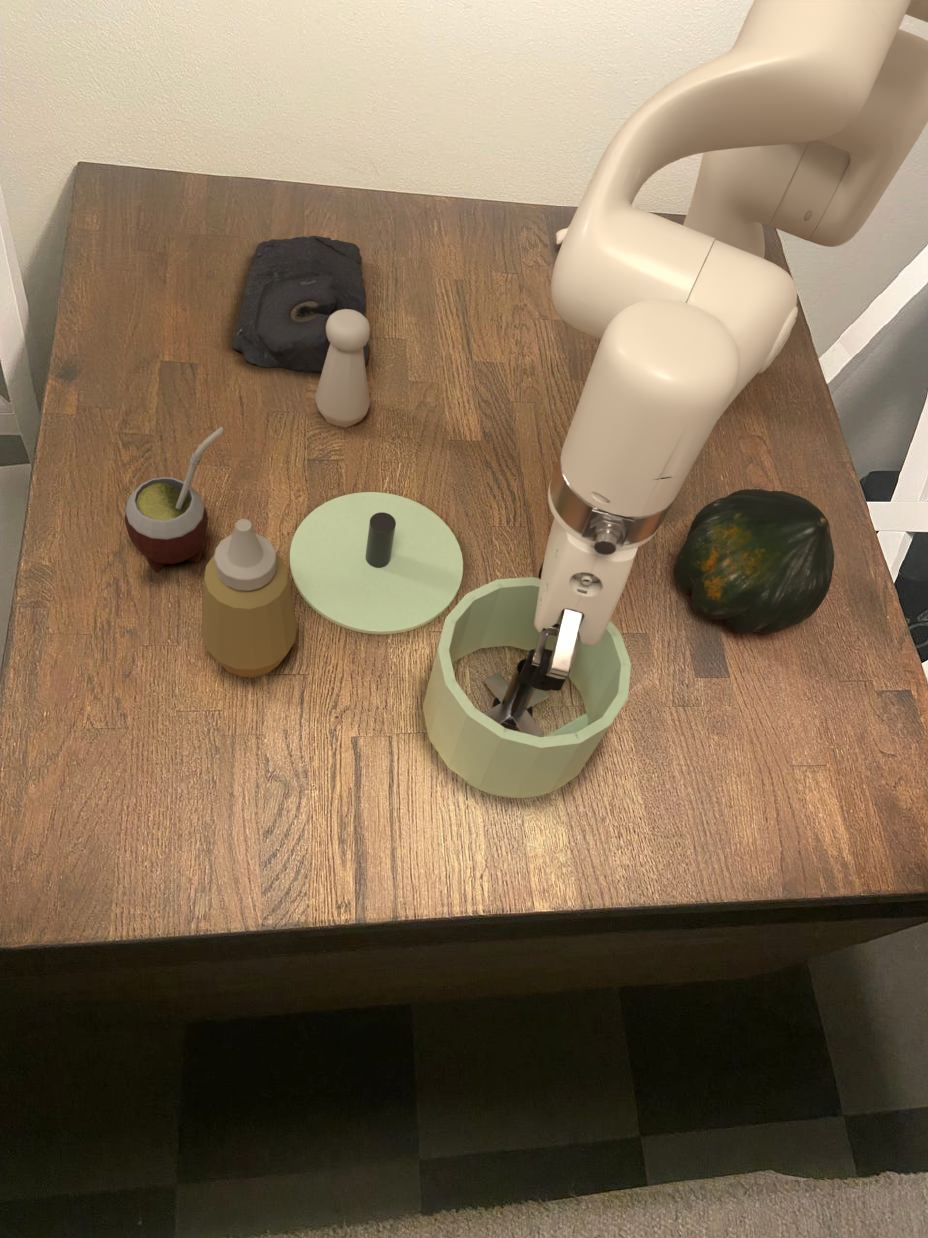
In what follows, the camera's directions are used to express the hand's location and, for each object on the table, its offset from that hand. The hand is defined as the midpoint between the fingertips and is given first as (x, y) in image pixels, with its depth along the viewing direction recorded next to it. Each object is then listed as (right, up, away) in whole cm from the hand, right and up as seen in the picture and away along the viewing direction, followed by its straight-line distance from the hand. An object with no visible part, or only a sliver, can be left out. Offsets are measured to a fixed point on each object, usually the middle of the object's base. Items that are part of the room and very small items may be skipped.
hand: (548, 630), depth 71 cm
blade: (-2, -8, +11) cm, 13 cm away
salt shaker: (-20, +23, +28) cm, 42 cm away
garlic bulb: (+8, +49, +51) cm, 72 cm away
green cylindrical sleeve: (-2, -8, +11) cm, 14 cm away
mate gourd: (-34, +7, +15) cm, 38 cm away
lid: (-15, +6, +17) cm, 24 cm away
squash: (+21, +3, +24) cm, 32 cm away
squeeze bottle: (-26, -2, +11) cm, 28 cm away
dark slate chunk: (-25, +37, +37) cm, 58 cm away
